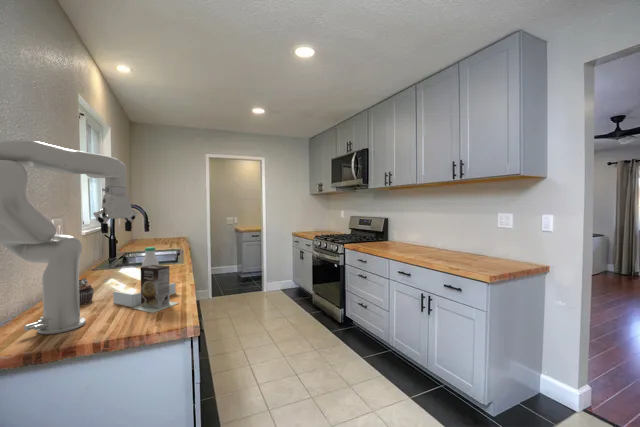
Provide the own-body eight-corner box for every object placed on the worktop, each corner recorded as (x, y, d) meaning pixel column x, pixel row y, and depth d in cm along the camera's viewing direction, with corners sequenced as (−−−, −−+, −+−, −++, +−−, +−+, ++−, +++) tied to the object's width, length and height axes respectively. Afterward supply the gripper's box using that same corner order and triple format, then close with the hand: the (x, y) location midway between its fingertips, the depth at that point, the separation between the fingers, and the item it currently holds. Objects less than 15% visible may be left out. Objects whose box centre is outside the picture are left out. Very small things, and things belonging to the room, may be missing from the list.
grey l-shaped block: (132, 307, 125) (132, 295, 125) (113, 303, 130) (113, 291, 130) (175, 293, 144) (175, 282, 144) (157, 290, 149) (157, 280, 149)
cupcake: (65, 307, 124) (65, 283, 124) (65, 301, 132) (65, 278, 131) (95, 303, 130) (94, 279, 130) (93, 297, 138) (93, 275, 137)
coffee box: (140, 306, 124) (139, 267, 124) (153, 301, 130) (152, 264, 130) (158, 309, 121) (157, 268, 121) (170, 303, 128) (169, 265, 127)
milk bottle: (162, 284, 160) (161, 246, 159) (153, 288, 152) (152, 248, 152) (148, 284, 161) (148, 246, 160) (138, 288, 153) (137, 248, 152)
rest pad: (152, 313, 118) (152, 311, 118) (132, 308, 123) (132, 307, 123) (178, 303, 129) (178, 302, 129) (158, 300, 134) (158, 299, 134)
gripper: (99, 190, 119) (100, 234, 119) (141, 192, 135) (142, 230, 135) (88, 190, 122) (89, 233, 122) (130, 192, 138) (131, 230, 138)
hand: (116, 232), depth 129 cm, fingers open, 9 cm apart
